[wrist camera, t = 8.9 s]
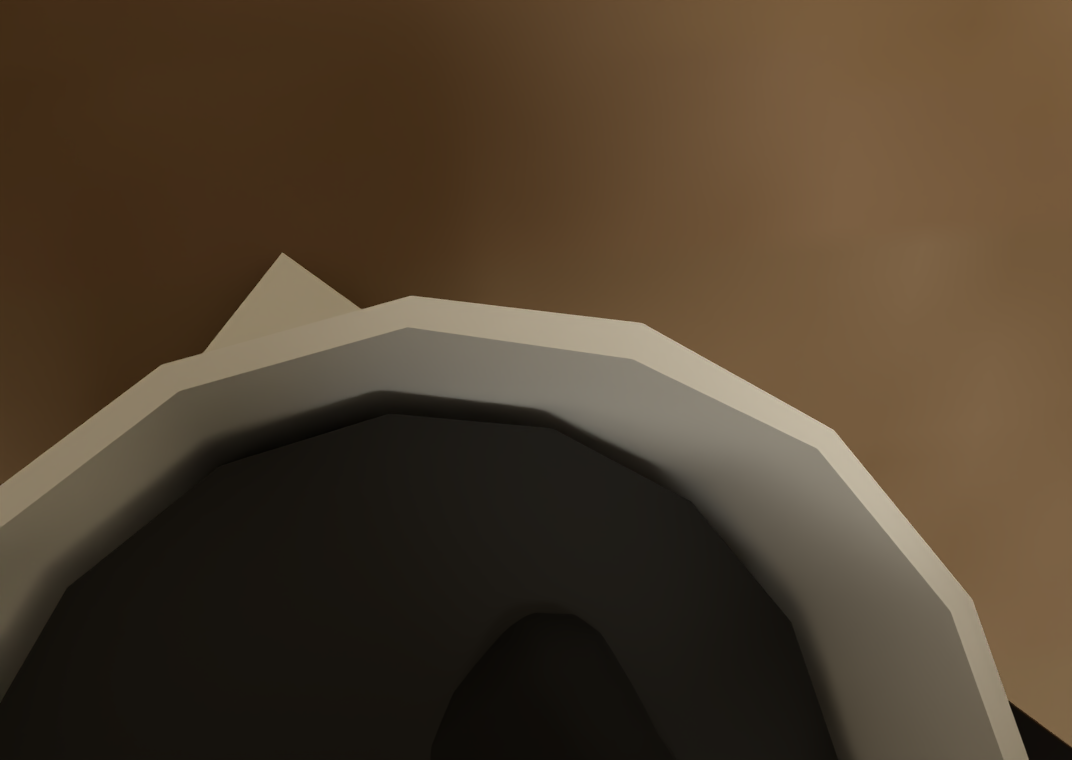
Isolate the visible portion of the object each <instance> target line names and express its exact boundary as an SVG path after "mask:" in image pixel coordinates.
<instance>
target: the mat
mask: <svg viewBox="0 0 1072 760" xmlns="http://www.w3.org/2000/svg"><path fill="white" fill-rule="evenodd" d="M357 310H361V309H360V308H359V307H357V306H356V305H355V304H353V303H352V302H351V301H349V300H348V299H346V298H345V297H344V296H342V295H341V294H339V293H338V292H337V291H335V290H334V289H333V288H331V287H330V286H328V285H327V284H326V283H324V282H323V281H321V280H320V279H319V278H317V277H316V276H314V275H313V274H312V273H310V272H309V271H308V270H306V269H305V268H303V267H302V266H301V265H299V264H298V263H296V262H295V261H294V260H292V259H291V258H289V257H288V256H287V255H285V254H284V253H283V252H282V253H281V255H280V256H279V257H278V259H277V260H276V261H275V262H274V264H273V265H272V266H271V267H270V269H269V270H268V271H267V272H266V274H265V275H264V276H263V278H262V279H261V280H260V281H259V283H258V284H257V285H256V286H255V288H254V289H253V290H252V291H251V293H250V294H249V295H248V297H247V298H246V299H245V300H244V302H243V303H242V304H241V305H240V307H239V308H238V309H237V310H236V312H235V313H234V314H233V316H232V317H231V318H230V319H229V321H228V322H227V323H226V324H225V326H224V327H223V328H222V330H221V331H220V332H219V333H218V335H217V336H216V337H215V338H214V340H213V341H212V342H211V343H210V345H209V346H208V347H207V349H206V350H205V351H204V352H203V353H206V352H209V351H213V350H216V349H220V348H224V347H227V346H231V345H235V344H238V343H242V342H245V341H249V340H253V339H256V338H260V337H263V336H267V335H271V334H274V333H278V332H282V331H285V330H289V329H292V328H296V327H300V326H303V325H307V324H310V323H314V322H318V321H321V320H325V319H328V318H332V317H336V316H339V315H343V314H347V313H350V312H354V311H357Z"/></svg>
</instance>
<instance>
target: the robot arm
mask: <svg viewBox="0 0 1072 760" xmlns="http://www.w3.org/2000/svg"><path fill="white" fill-rule="evenodd" d="M1008 702H1009V705H1010V708H1011V710H1012V713H1013V716H1014V719H1015V722H1016V725H1017V727H1018V730H1019V733H1020V736H1021V739H1022V742H1023V744H1024V747H1025V750H1026V753H1027V756H1028V759H1029V760H1072V747H1071V746H1069V745H1068V744H1066V743H1065V742H1064V741H1062V740H1061V739H1060V738H1058V737H1057V736H1056V735H1054V734H1053V733H1052V732H1050V731H1049V730H1048V729H1046V728H1045V727H1043V726H1042V725H1041V724H1039V723H1038V722H1037V721H1035V720H1034V719H1033V718H1031V717H1030V716H1029V715H1027V714H1026V713H1025V712H1023V711H1022V710H1020V709H1019V708H1018V707H1016V706H1015V705H1014V704H1012V703H1011V702H1010V701H1008Z"/></svg>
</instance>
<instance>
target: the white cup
mask: <svg viewBox="0 0 1072 760" xmlns="http://www.w3.org/2000/svg"><path fill="white" fill-rule="evenodd" d="M0 760H1029V759H1028V756H1027V753H1026V750H1025V747H1024V744H1023V742H1022V739H1021V736H1020V733H1019V730H1018V727H1017V725H1016V722H1015V719H1014V716H1013V713H1012V710H1011V708H1010V705H1009V702H1008V699H1007V696H1006V693H1005V691H1004V688H1003V685H1002V682H1001V679H1000V676H999V674H998V671H997V668H996V665H995V662H994V659H993V657H992V654H991V651H990V648H989V645H988V642H987V640H986V637H985V634H984V631H983V628H982V626H981V623H980V620H979V617H978V614H977V611H976V609H975V606H974V603H973V600H972V598H971V597H970V596H969V595H968V593H967V592H966V591H965V590H964V589H963V587H962V586H961V585H960V584H959V582H958V581H957V580H956V579H955V578H954V576H953V575H952V574H951V573H950V571H949V570H948V569H947V568H946V567H945V565H944V564H943V563H942V562H941V560H940V559H939V558H938V557H937V556H936V554H935V553H934V552H933V551H932V549H931V548H930V547H929V546H928V545H927V543H926V542H925V541H924V540H923V538H922V537H921V536H920V535H919V534H918V532H917V531H916V530H915V529H914V527H913V526H912V525H911V524H910V523H909V521H908V520H907V519H906V518H905V517H904V515H903V514H902V513H901V512H900V510H899V509H898V508H897V507H896V506H895V504H894V503H893V502H892V501H891V499H890V498H889V497H888V496H887V495H886V493H885V492H884V491H883V490H882V488H881V487H880V486H879V485H878V484H877V482H876V481H875V480H874V479H873V477H872V476H871V475H870V474H869V473H868V471H867V470H866V469H865V468H864V466H863V465H862V464H861V463H860V462H859V460H858V459H857V458H856V457H855V455H854V454H853V453H852V452H851V451H850V449H849V448H848V447H847V446H846V445H845V443H844V442H843V441H842V440H841V438H840V437H839V436H838V435H837V434H836V432H835V431H834V430H833V429H831V428H829V427H828V426H826V425H824V424H822V423H820V422H819V421H817V420H815V419H813V418H811V417H810V416H808V415H806V414H804V413H802V412H801V411H799V410H797V409H795V408H793V407H792V406H790V405H788V404H786V403H785V402H783V401H781V400H779V399H777V398H776V397H774V396H772V395H770V394H768V393H767V392H765V391H763V390H761V389H759V388H758V387H756V386H754V385H752V384H750V383H749V382H747V381H745V380H743V379H742V378H740V377H738V376H736V375H734V374H733V373H731V372H729V371H727V370H725V369H724V368H722V367H720V366H718V365H716V364H715V363H713V362H711V361H709V360H707V359H706V358H704V357H702V356H700V355H698V354H697V353H695V352H693V351H691V350H690V349H688V348H686V347H684V346H682V345H681V344H679V343H677V342H675V341H673V340H672V339H670V338H668V337H666V336H664V335H663V334H661V333H659V332H657V331H655V330H654V329H652V328H650V327H648V326H647V325H645V324H643V323H638V322H629V321H621V320H612V319H604V318H596V317H587V316H579V315H570V314H562V313H553V312H545V311H536V310H528V309H520V308H511V307H503V306H494V305H486V304H477V303H469V302H460V301H452V300H443V299H435V298H427V297H418V296H408V297H404V298H401V299H397V300H394V301H390V302H386V303H383V304H379V305H375V306H372V307H368V308H365V309H361V310H357V311H354V312H350V313H347V314H343V315H339V316H336V317H332V318H328V319H325V320H321V321H318V322H314V323H310V324H307V325H303V326H300V327H296V328H292V329H289V330H285V331H282V332H278V333H274V334H271V335H267V336H263V337H260V338H256V339H253V340H249V341H245V342H242V343H238V344H235V345H231V346H227V347H224V348H220V349H216V350H213V351H209V352H206V353H202V354H198V355H195V356H191V357H188V358H184V359H180V360H177V361H173V362H169V363H166V364H162V365H160V366H159V367H158V368H156V369H155V370H154V371H152V372H151V373H150V374H148V375H147V376H146V377H144V378H143V379H142V380H140V381H139V382H138V383H136V384H135V385H134V386H132V387H131V388H130V389H128V390H127V391H126V392H124V393H123V394H122V395H120V396H119V397H118V398H116V399H115V400H114V401H112V402H111V403H110V404H108V405H107V406H106V407H104V408H103V409H102V410H100V411H99V412H98V413H96V414H95V415H94V416H92V417H91V418H90V419H88V420H87V421H86V422H84V423H83V424H82V425H80V426H79V427H78V428H76V429H75V430H74V431H72V432H71V433H70V434H68V435H67V436H66V437H64V438H63V439H62V440H60V441H59V442H58V443H56V444H55V445H54V446H52V447H51V448H50V449H48V450H47V451H46V452H44V453H43V454H42V455H40V456H39V457H38V458H36V459H35V460H34V461H32V462H31V463H30V464H28V465H27V466H26V467H24V468H23V469H22V470H20V471H19V472H18V473H16V474H15V475H14V476H12V477H11V478H10V479H8V480H7V481H6V482H4V483H3V484H2V485H0Z"/></svg>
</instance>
